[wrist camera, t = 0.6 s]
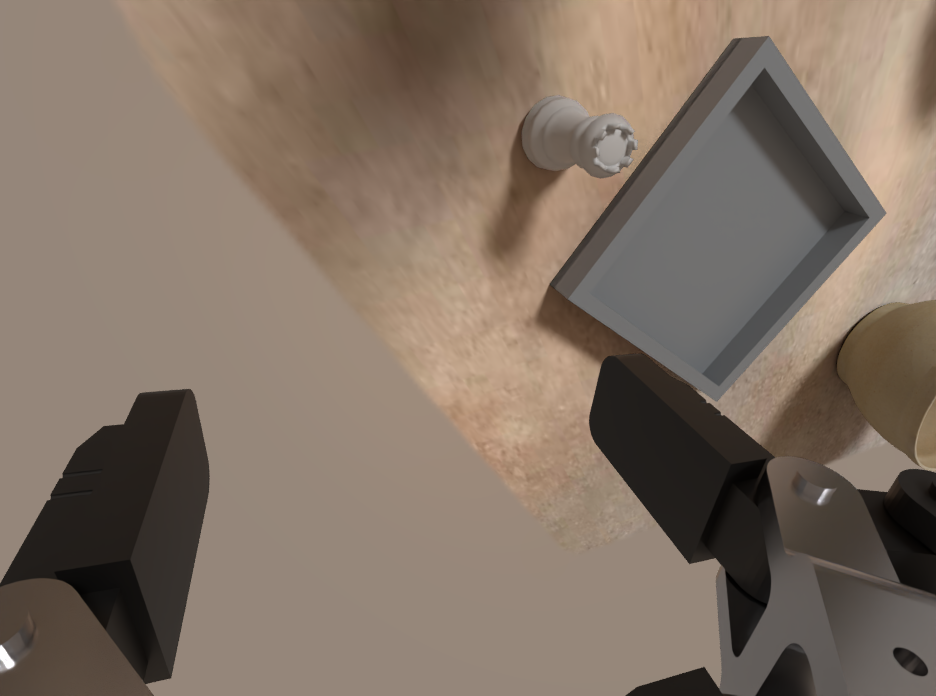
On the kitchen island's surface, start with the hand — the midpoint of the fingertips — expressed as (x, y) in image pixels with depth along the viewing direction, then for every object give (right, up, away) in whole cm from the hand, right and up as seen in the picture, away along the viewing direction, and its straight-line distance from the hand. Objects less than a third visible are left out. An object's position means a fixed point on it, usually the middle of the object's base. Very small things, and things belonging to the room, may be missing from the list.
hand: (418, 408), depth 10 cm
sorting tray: (+21, +10, +31) cm, 38 cm away
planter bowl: (+43, +2, +43) cm, 61 cm away
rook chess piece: (+6, +15, +23) cm, 28 cm away
